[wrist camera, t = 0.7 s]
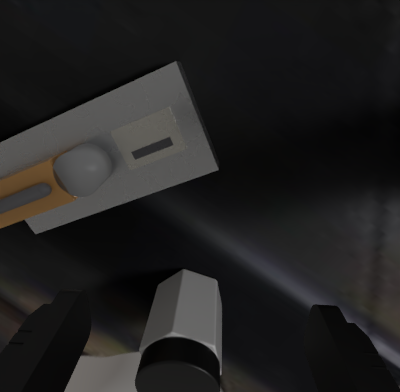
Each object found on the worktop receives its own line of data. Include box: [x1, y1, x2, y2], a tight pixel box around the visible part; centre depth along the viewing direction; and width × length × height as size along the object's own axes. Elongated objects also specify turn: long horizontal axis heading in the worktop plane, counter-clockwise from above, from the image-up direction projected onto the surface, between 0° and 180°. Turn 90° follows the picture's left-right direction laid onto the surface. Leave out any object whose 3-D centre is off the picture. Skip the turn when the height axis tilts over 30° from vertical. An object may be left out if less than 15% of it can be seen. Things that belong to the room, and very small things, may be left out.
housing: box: [0, 61, 219, 234], centre depth 28 cm, size 22×10×3 cm, turn 112°
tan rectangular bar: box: [0, 143, 112, 228], centre depth 25 cm, size 14×4×4 cm, turn 112°
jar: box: [135, 269, 222, 392], centre depth 31 cm, size 9×8×12 cm
